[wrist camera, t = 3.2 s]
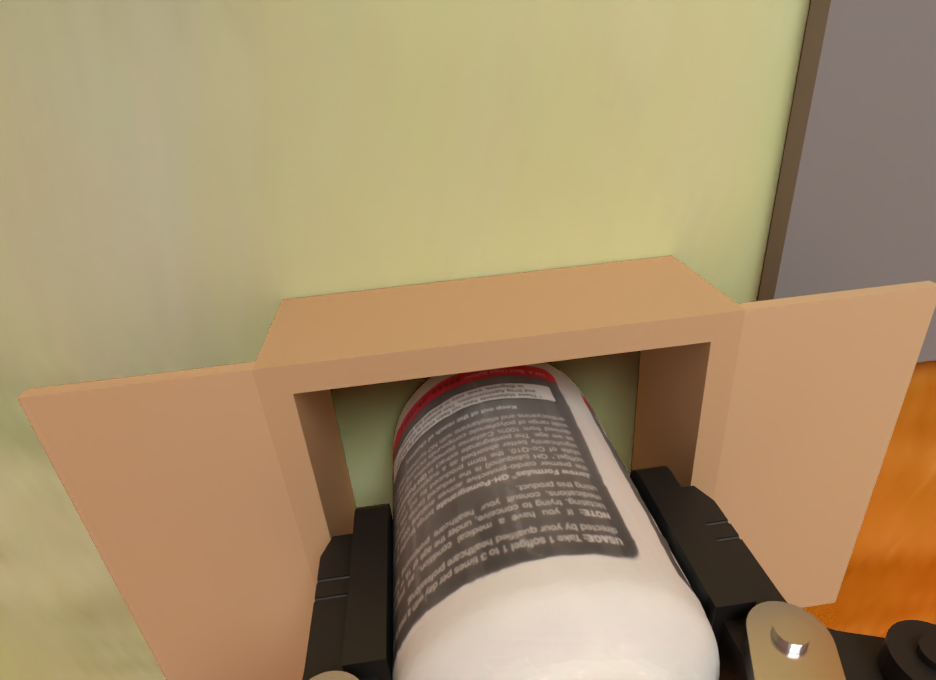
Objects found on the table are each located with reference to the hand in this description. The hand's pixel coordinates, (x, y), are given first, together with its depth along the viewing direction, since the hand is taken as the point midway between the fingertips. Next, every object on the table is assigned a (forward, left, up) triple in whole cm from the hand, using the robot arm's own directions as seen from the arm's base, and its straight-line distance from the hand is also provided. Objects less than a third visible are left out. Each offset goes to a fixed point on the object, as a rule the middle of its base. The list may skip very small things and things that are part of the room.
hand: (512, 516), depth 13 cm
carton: (0, 0, -3) cm, 3 cm away
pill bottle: (0, 0, -3) cm, 3 cm away
